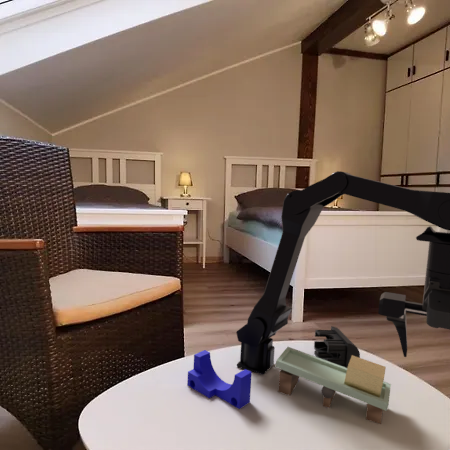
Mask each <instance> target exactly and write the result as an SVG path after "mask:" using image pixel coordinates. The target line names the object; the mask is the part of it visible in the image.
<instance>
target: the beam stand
mask: <svg viewBox="0 0 450 450" xmlns="http://www.w3.org/2000/svg"><path fill="white" fill-rule="evenodd" d="M278 374H279V375H278V388H277V392H278V393H281V394H283V395H286V396H291V395H292V393H293V392H294V390H295V388H296V387H297V385H298V383H299V381H300V377H299V376H297V375H294V374H292V373H289V372H287V371H284V370H282V369H280V371H279V373H278ZM320 392H321V395H322V397H323V398H322V399H323V400H322V407H325V408H328V409H330V407H331V406H332V403H333V400H334V398H335V395H336V393H337V391H335V390H332V389H330V388H327V387H325V386H323V387H322V388H321V391H320ZM383 411H384V410H383V409H380V408H378V407H375V406H373V405H370V404H368V403H366V412H365V413H366V415H365V420H366V421H369V422H370V421H371V422H373V423H376V424H380V425H381V424H382V423H381V422H382V419H383V418H382V417H383Z"/></svg>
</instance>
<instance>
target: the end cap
mask: <svg viewBox="0 0 450 450" xmlns="http://www.w3.org/2000/svg"><path fill="white" fill-rule="evenodd" d="M314 337H317V338H320V337H321V338H325V339H323V340H319V341H318V340H315V341H314V343H313V348H314V352H313V354H314V356H315V357H318V358H321V359H323V360H326V361H329V362H332V363H334V364H337V365H340V366H343V367H345V368H348V364H349V362H350V359H351V356H352V355H353V356H356V357H359V358H361V352H360V351H359V349H358V347H357V346H356V345H355V344H354V343H353V341H351V339H350V338H348V337H347V335H346V334H344V332H343V331H342V330H340V328H338V327H336V326H333V325H331V327H330V329H315V331H314Z"/></svg>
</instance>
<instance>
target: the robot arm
mask: <svg viewBox="0 0 450 450" xmlns="http://www.w3.org/2000/svg"><path fill="white" fill-rule="evenodd" d="M343 195H346V196H351V197H352V198H353V197H354V198H358V199H360V200H361V199H362V200H364V201H369V202H372V203H376V204H380V205H383V206H387V207H391V208H394V209H397V210H401V211H405V212H407V213H409V214H411V215H413V216H415V217H416V218H419V219H421V220H423V221H425V222H427V223H429V224H432V225H433V226H436V227H438V228H440V229H442V230H446V231H450V192H446V191H445V192H443V191H431V190H430V191H429V190H416V189H410V188H407V187H404V186H403V187H402V186H398V185H394V184H391V183H387V182H383V181H378V180H375V179H369V178H365V177H363V176H362V177H361V176H357V175H353V174H351V173H349V172H345V171H342V170H341V171H338V170H337V171H335V172H332V174H330V175H328V176H327V177H325V178H324V179H321V180H319V181H317V182H314V183H313V184H310V185H308V186H307V187H304V189H303V188H302V189H295V190H292V191H290V192H289V193H287V194H286V195H285V196H284V198H283V202H282V210H281V216H280V217H281V218H280V219H281V224H282V225H281V226H282V233H281V237H280V240H279V243H278V247H277V250H276V252H275V256H274V259H273V263H272V266H271V269H270V273H269V275H268V279H267V282H266V284H265V288H264V291H263V294H262V296H261V297H260V298H259V300H258V301H257V302H256V303H255V305H254V306H253V309H252V310H251V312H250V314H249V316H248V318H247V323H246V324H245V325H243V326H242V327H240V328H239V329H238V330H237V331H236V337H237V341H238V342H239V343H240V357H239V361H238V362H237V364H236V367H237V368H240V369H243V370H244V369H246V370H248V371H250V372H252V373H253V372H254V373H256V374H260V375H265V374H266V373H267V372H268V371H269V369H271V368H272V366H273V365H274V363H275V348H276V347H275V345H274V346H273V344H274V343H273V342H274V341H273V340H274V339H273V338H272V337H274V336H276V334H277V332H278V331H279V330H281V329H283V328H284V327H285V326H286V325H288V324H289V322H288V320H289V319H288V318H289V316H290V314H291V312H292V310H293V308H292V307H290V306H287V301H286V297H287V293H288V291H289V288H290V286H291V281H292V279H293V276H294V272H295V269H296V266H297V263H298V259H299V256H300V253H301V251H302V247H303V245H304V242H305V239H306V236H307V235H308V234H309V232H310V231H311V230H312V228H313V227H314V226H315V224H316V222H317V221H318V219H319V217H320V215H321V214H322V211H323V209H324V208H326V206H328V205H330V204H332V203H333V202H335V201H336V200H337V199H339V198H340V197H342V196H343ZM446 231H445V232H444V231H443V232H442V231H436V230H434V228H433V227H432V226H430V225H429V226H428V227H426V228H425V230H424V231H423V232H422V233H420V234H418V235H417V236H416V237H415V239H416V241H418V242H428V251H427V261H426V270H425V277H424V279H425V280H424V288H423V296H422V297H423V298H422V303H421V302H416V301H408V300H406V298H407V295H406V294H401V293H395V292H390V291H389V292H388V291H384V292H383V293H381V295H380V297H379V302H378V313H377V314H378V315H380V316H384V317H385V319H386V320H387V321H388V322H390V323H391V322H392V324H393V326H394V327H395V329H396V332H397V335H398V339H399V342H400V347H401V350H402V355H403V357H404V358H407V356H408V329H407V328H408V327H407V313H408V314H414V315H419V316H425V317H426V320H425V321H426V322H425V323H426V324H427V325H428V326H429V327H430V328H432V329H433V328H434V329H439V328H440V329H444V330H450V232H446Z"/></svg>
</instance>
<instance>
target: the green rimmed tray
mask: <svg viewBox="0 0 450 450" xmlns="http://www.w3.org/2000/svg"><path fill="white" fill-rule="evenodd" d="M275 361H276V362H275V366H274V367H275V368H277V369H279V370H284V371H287V372H289V373H292V374H294V375H297V376H299V378H302V379H305V380H307V381H310V382H312V383H315V384H317V385H319V386H325V387H327V388H330V389H332V390H335V391H336V393H339V394H342V395H345V396H347V397H351V398H353V399H355V400H358V401H360V402H363V403H366V404H367V403H368V404H370V405H373V406H375V407H378V408H380V409H383V411H386V412H387V411H388V408H389V403H390V395H391V386H392V384H391V383H389V382H386V381H383V385H382V389H381V393H380V398H379V397H376V396H373V395H371V394H368V393H366V392H363V391H360V390H358V389H355V388H353V387H350V386H347V385H345V384H344V381H345V377H346V372H347V368H345V367H343V366H340V365H337V364H334V363H332V362H329V361H326V360H323V359H321V358H318V357H316V356H315V355H312V354H310V353H306V352H303V351H301V350H298V349H295V348H292V347H289V346H287V347H285V349H284V350H283V352H282V353H281V354H280V355H279V356H278V358H277V359H276V360H275Z"/></svg>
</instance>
